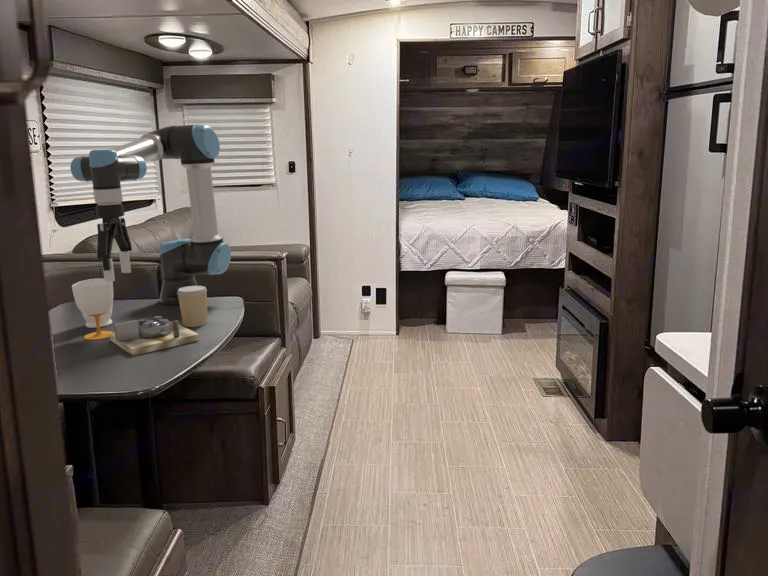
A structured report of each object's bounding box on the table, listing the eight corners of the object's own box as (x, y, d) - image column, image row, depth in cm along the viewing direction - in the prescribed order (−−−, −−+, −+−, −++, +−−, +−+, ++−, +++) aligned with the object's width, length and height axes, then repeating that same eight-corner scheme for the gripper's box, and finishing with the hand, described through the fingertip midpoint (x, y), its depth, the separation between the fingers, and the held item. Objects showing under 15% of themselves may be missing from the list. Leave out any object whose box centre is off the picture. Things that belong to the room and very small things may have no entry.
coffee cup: (200, 318, 222) (197, 284, 220) (215, 323, 216) (211, 287, 213) (175, 324, 216) (171, 289, 213) (189, 329, 209) (185, 293, 207)
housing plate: (173, 327, 212) (171, 306, 211) (200, 340, 197) (197, 318, 195) (109, 340, 200) (106, 319, 198) (131, 356, 184) (128, 332, 183)
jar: (103, 329, 212) (97, 285, 209) (75, 328, 215) (68, 284, 211) (122, 320, 223) (116, 278, 219) (95, 320, 225) (89, 277, 221)
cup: (90, 331, 211) (82, 279, 208) (125, 330, 211) (118, 278, 207) (72, 342, 200) (64, 288, 196) (109, 341, 200) (102, 287, 196)
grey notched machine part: (163, 326, 205) (162, 311, 204) (176, 333, 197) (174, 317, 196) (111, 337, 195) (109, 321, 194) (122, 344, 188) (120, 328, 186)
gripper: (113, 200, 201) (122, 269, 206) (77, 208, 178) (87, 285, 183) (137, 199, 201) (145, 268, 206) (104, 207, 178) (114, 285, 183)
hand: (118, 276), depth 194 cm, fingers open, 11 cm apart
